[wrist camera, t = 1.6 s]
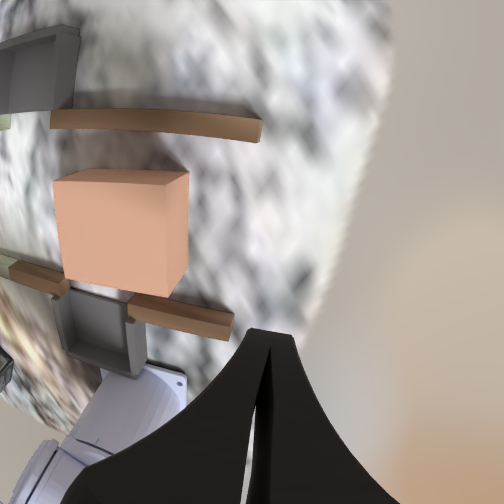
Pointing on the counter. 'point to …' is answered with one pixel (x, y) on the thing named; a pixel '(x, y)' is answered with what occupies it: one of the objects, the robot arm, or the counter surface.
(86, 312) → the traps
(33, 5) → the counter surface
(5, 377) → the small box
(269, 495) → the robot arm
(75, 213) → the block
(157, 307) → the lane
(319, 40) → the counter surface
